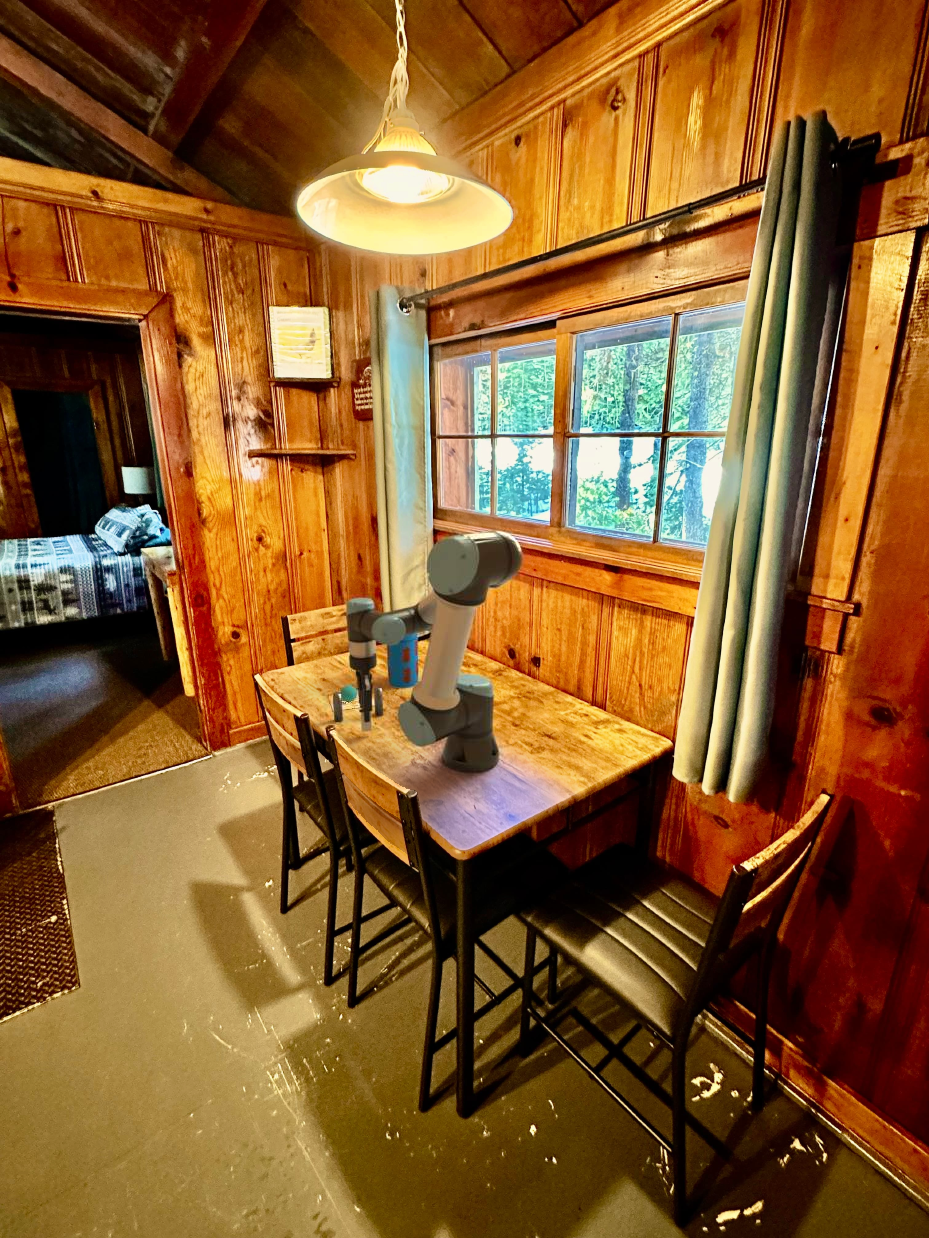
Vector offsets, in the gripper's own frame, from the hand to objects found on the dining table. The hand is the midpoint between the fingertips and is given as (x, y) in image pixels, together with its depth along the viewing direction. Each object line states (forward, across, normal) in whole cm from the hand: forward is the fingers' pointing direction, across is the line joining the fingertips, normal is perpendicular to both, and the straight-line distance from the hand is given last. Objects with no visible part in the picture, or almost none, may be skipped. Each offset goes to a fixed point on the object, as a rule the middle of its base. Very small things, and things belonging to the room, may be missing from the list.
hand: (366, 730), depth 166 cm
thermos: (+2, -36, +20) cm, 41 cm away
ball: (-1, -26, -1) cm, 26 cm away
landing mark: (+2, -27, 0) cm, 27 cm away
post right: (+2, -13, +6) cm, 15 cm away
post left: (+2, -13, -6) cm, 15 cm away
